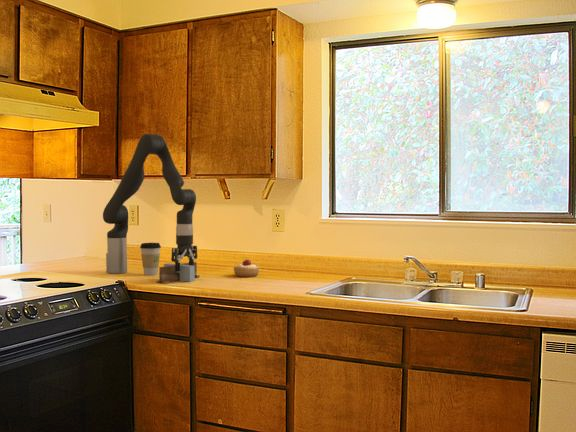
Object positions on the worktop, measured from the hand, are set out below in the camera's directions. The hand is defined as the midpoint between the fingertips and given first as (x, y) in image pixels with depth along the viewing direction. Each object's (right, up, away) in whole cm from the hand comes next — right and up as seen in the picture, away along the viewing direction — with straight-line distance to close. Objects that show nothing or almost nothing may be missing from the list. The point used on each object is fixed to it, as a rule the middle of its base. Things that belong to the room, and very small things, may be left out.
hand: (184, 269), depth 279 cm
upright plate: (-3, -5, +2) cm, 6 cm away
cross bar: (-3, -5, +2) cm, 6 cm away
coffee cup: (-19, -4, +19) cm, 28 cm away
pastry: (+27, -4, +15) cm, 31 cm away
